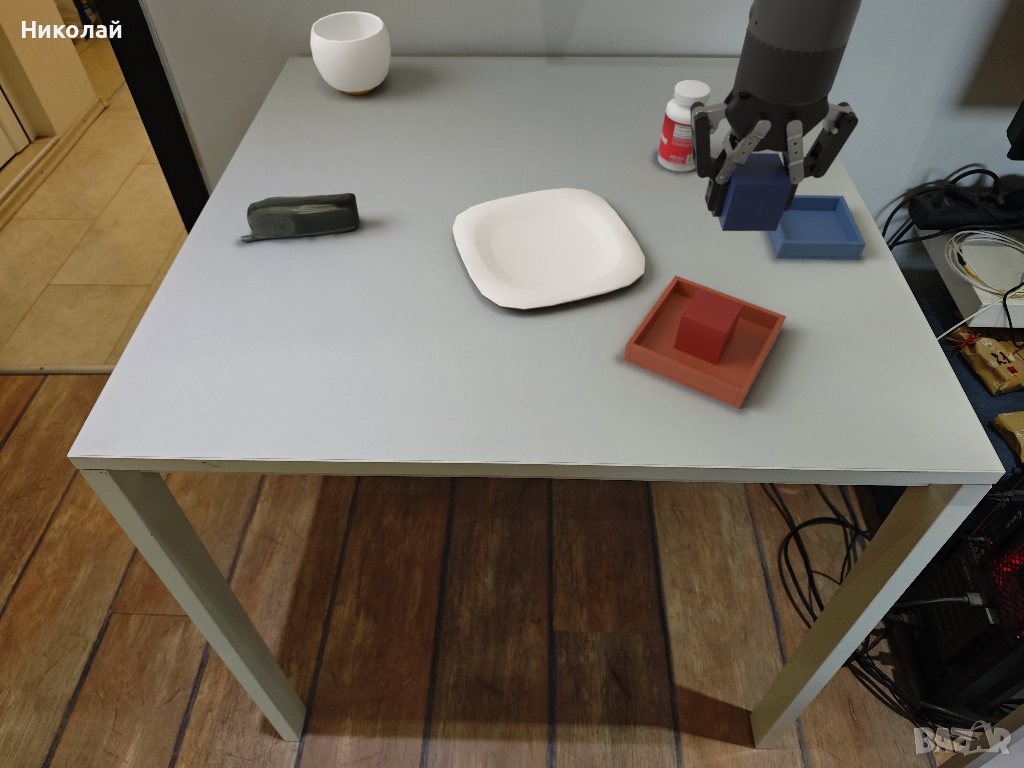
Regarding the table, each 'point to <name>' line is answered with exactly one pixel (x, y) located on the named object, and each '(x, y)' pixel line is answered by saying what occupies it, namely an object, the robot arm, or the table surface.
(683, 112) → the pill bottle
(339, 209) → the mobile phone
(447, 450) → the table surface
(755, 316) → the terracotta tray
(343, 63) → the cup
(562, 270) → the plate
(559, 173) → the table surface
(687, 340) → the red block
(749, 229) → the navy block
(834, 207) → the blue tray
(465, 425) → the table surface
